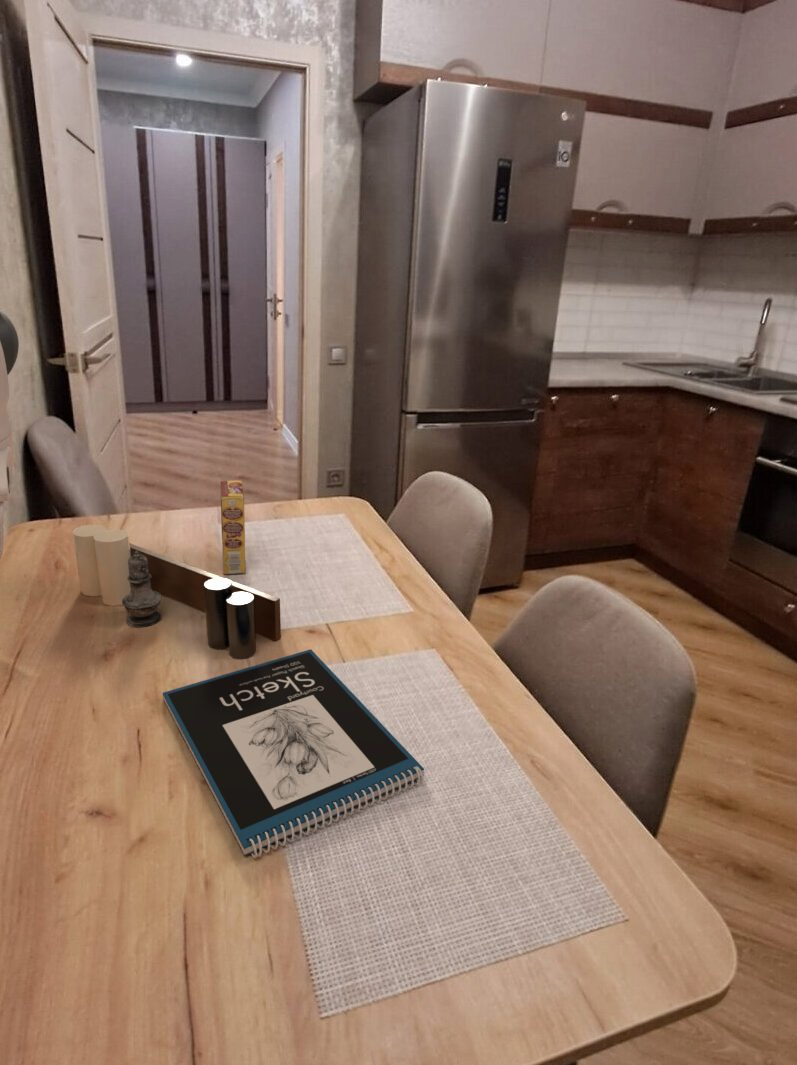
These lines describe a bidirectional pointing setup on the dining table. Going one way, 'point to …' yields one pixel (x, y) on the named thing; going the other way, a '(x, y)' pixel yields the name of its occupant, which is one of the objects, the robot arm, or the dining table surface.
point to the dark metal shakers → (230, 618)
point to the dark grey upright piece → (141, 594)
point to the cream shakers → (103, 562)
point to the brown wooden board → (189, 590)
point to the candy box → (233, 527)
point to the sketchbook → (287, 748)
